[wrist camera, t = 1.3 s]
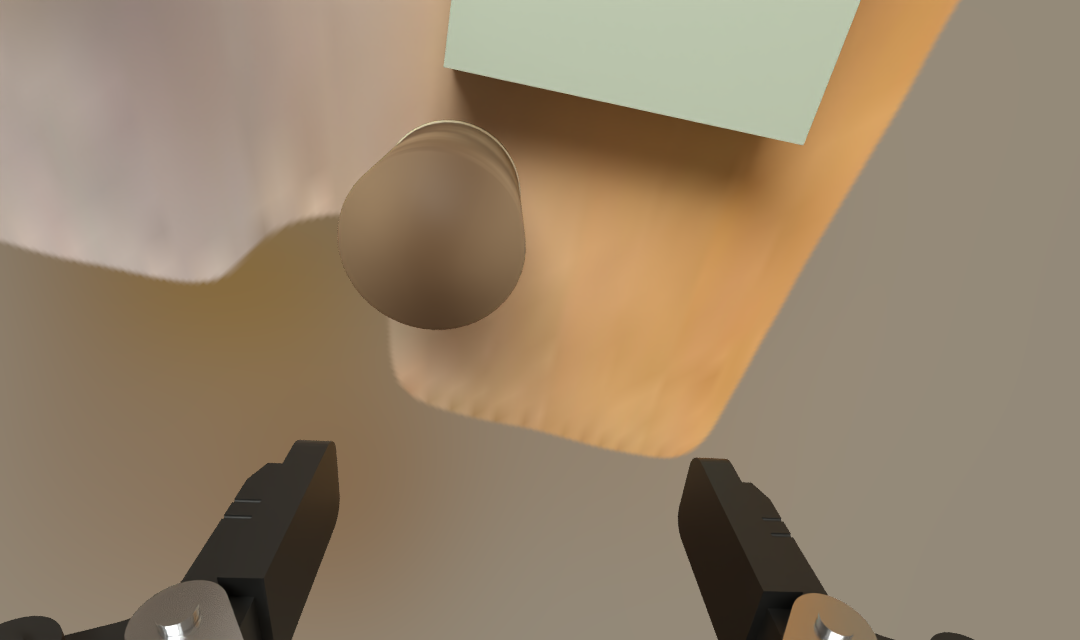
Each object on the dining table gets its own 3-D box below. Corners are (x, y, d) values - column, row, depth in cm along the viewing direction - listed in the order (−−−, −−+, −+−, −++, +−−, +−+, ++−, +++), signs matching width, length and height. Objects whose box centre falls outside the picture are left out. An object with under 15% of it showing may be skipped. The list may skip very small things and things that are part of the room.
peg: (392, 221, 29) (331, 316, 19) (403, 99, 26) (340, 131, 16) (507, 241, 30) (509, 343, 19) (528, 124, 27) (544, 171, 17)
